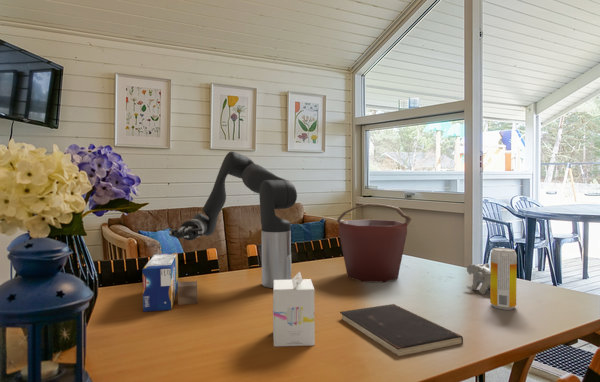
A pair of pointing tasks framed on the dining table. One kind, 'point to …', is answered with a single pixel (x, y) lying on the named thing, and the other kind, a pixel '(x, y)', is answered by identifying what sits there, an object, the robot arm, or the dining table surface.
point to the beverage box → (160, 282)
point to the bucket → (373, 246)
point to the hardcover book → (400, 329)
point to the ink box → (293, 312)
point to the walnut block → (187, 292)
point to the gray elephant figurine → (480, 276)
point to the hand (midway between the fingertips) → (178, 235)
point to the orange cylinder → (503, 278)
